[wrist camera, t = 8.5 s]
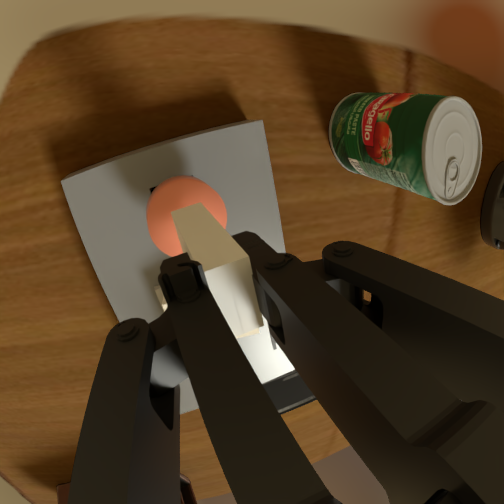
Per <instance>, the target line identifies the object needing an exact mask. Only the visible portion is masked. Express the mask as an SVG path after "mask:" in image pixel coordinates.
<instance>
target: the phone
mask: <svg viewBox="0 0 504 504" xmlns="http://www.w3.org/2000/svg"><path fill="white" fill-rule="evenodd" d="M262 385H263V387H264V388H265V390H266V392H267V394H268V395H269V397H270V399H271V400H272V402H273V404H274V405H275V407H276V409H277V410H278V412H279V414H280V415H281V414H284V413H286V412H289V411H291V410H294V409H296V408H298V407H301V406H303V405H305V404H308V403H310V402H312V401H315V400H317V399H316V397H315V396H314V395H313V393H312V392H311V390H310V389H309V388H308V386H307V385H306V384H305V382H304V381H303V379H302V378H301V377H300V375H299V374H298V372H297V371H296V370H292V371H290V372H288V373H286V374H284V375H281V376H279V377H277V378H274V379H272V380H270V381H267V382H265V383H263V384H262Z"/></svg>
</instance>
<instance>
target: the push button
mask: <svg viewBox="0 0 504 504" xmlns="http://www.w3.org/2000/svg"><path fill="white" fill-rule="evenodd" d="M200 202H201V203H202V204H203V206H204V207H205V208H206V209H207V210H208V211H209V212H210V213H211V214H212V216H213V217H214V218H215V219H216V220H217V221H218V222H219V223H220V224H221V226H222V227H223V228H224V229H226V224H227V212H226V207H225V204H224V202H223V200H222V198H221V197H220V195H219V194H218V193H217V192H216V191H215V190H214V189H212V188H211V187H210V186H209V185H208V184H206V183H205V182H204V181H202V180H200V179H198V178H196V177H193V176H187V175H181V176H175V177H172V178H169V179H167V180H165V181H163V182H162V183H161V184H159V185H158V186H157V187H156V188H155V189H154V191H153V192H152V194H151V195H150V197H149V200H148V203H147V207H146V219H147V225H148V230H149V234H150V236H151V239H152V241H153V242H154V244H155V245H156V246H157V247H158V248H159V249H160V250H161V251H162V252H164V253H165V254H167V255H169V256H171V257H174V256H177V255H179V254H182V253H183V251H182V247H181V244H180V241H179V238H178V235H177V231H176V228H175V225H174V221H173V218H172V215H171V212H172V211H175V210H178V209H181V208H184V207H187V206H190V205H193V204H196V203H200Z"/></svg>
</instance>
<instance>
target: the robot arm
mask: <svg viewBox="0 0 504 504" xmlns="http://www.w3.org/2000/svg"><path fill="white" fill-rule="evenodd" d="M171 215H172V218H173V221H174V225H175V228H176V231H177V235H178V238H179V241H180V244H181V247H182V251H183V253H182V254H179V255H177V256H174V257H171V258H168V259H165V260H163V262H162V264H161V266H160V271H161V273H160V274H159V275H158V282H159V285H160V287H161V290H162V292H163V295H164V297H165V300H166V302H167V309H166V310H165V312H164V313H163V314H162V315H161V316H160V317H158V318H157V319H155V320H154V321H152V322H150V323H149V324H148V322H147V321H146V320H145V319H141V318H130V319H127V320H124V321H122V322H120V323H118V324H117V325H115V326H114V327H113V328H112V329H111V330H110V332H109V334H108V336H107V338H106V341H105V344H104V348H103V351H102V354H101V357H100V361H99V364H98V367H97V371H96V374H95V378H94V381H93V385H92V388H91V392H90V396H89V400H88V404H87V408H86V411H85V416H84V420H83V424H82V428H81V433H80V437H79V442H78V446H77V451H76V456H75V461H74V466H73V472H72V477H71V483H70V489H69V496H68V502H67V504H181V497H180V385H179V383H181V382H182V381H184V380H185V379H187V378H188V377H189V380H190V383H191V386H192V389H193V392H194V395H195V398H196V400H197V403H198V406H199V409H200V412H201V415H202V418H203V420H204V423H205V426H206V428H207V431H208V434H209V436H210V439H211V442H212V444H213V447H214V449H215V452H216V455H217V457H218V460H219V462H220V465H221V467H222V469H223V472H224V474H225V477H226V479H227V481H228V484H229V486H230V488H231V491H232V493H233V495H234V497H235V500H236V502H237V504H342V503H341V502H340V501H338V500H337V499H335V498H334V497H333V496H332V495H331V494H330V492H329V491H328V489H327V488H326V487H325V485H324V483H323V482H322V480H321V479H320V477H319V476H318V474H317V473H316V471H315V470H314V468H313V467H312V465H311V464H310V462H309V460H308V459H307V457H306V456H305V454H304V453H303V451H302V449H301V448H300V446H299V445H298V443H297V441H296V440H295V438H294V437H293V435H292V433H291V432H290V430H289V429H288V427H287V425H286V424H285V422H284V420H283V419H282V417H281V415H280V414H279V412H278V410H277V409H276V407H275V405H274V404H273V402H272V400H271V399H270V397H269V395H268V394H267V392H266V390H265V388H264V387H263V385H262V383H261V382H260V380H259V378H258V376H257V375H256V373H255V371H254V369H253V368H252V366H251V364H250V362H249V361H248V359H247V357H246V355H245V354H244V352H243V350H242V348H241V346H240V345H239V343H238V341H237V339H236V337H237V336H239V335H242V334H244V333H247V332H249V331H252V330H254V329H257V328H259V327H262V326H264V322H263V318H262V315H263V316H264V318H265V319H266V320H267V323H268V328H269V333H270V337H271V342H272V346H273V349H274V350H275V349H277V347H276V343H277V344H278V346H279V347H280V349H281V350H282V351H283V353H284V354H285V356H286V357H287V358H288V360H289V361H290V363H291V364H292V365H293V367H294V368H295V370H296V371H297V372H298V374H299V375H300V377H301V378H302V379H303V381H304V382H305V384H306V385H307V386H308V388H309V389H310V390H311V392H312V393H313V395H314V396H315V397H316V399H317V400H318V401H319V403H320V404H321V406H322V407H323V408H324V410H325V411H326V412H327V414H328V415H329V416H330V418H331V419H332V420H333V422H334V423H335V425H336V426H337V427H338V429H339V430H340V431H341V433H342V434H343V435H344V437H345V438H346V439H347V441H348V442H349V443H350V445H351V446H352V447H353V449H354V450H355V451H356V452H357V454H358V455H359V456H360V458H361V459H362V460H363V462H364V463H365V464H366V466H367V467H368V468H369V470H370V471H371V472H372V473H373V475H374V476H375V477H376V479H377V480H378V481H379V482H380V484H381V485H382V486H383V488H384V489H385V490H386V493H387V495H388V498H389V502H390V504H504V301H503V300H501V299H499V298H496V297H494V296H491V295H489V294H487V293H484V292H482V291H480V290H477V289H475V288H472V287H470V286H467V285H465V284H462V283H460V282H458V281H455V280H453V279H450V278H448V277H445V276H443V275H440V274H437V273H435V272H432V271H430V270H427V269H425V268H422V267H419V266H417V265H414V264H412V263H409V262H406V261H404V260H401V259H399V258H396V257H393V256H391V255H388V254H385V253H382V252H380V251H377V250H374V249H372V248H369V247H366V246H363V245H361V244H358V243H355V242H350V241H338V242H333V243H331V244H329V245H327V246H326V247H325V248H323V251H322V259H320V260H315V261H309V262H302V261H301V260H299V259H298V258H297V257H296V256H294V255H292V254H289V253H277V252H276V251H275V250H274V249H273V248H272V247H271V246H269V245H268V244H267V243H266V242H265V241H264V240H263V239H261V237H259V236H258V235H257V234H256V233H253V232H249V231H244V232H241V233H238V234H235V235H232V236H230V234H229V233H228V232H227V231H226V230H225V229H224V228H223V227H222V226H221V224H220V223H219V222H218V221H217V220H216V219H215V218H214V217H213V216H212V214H211V213H210V212H209V211H208V210H207V209H206V208H205V207H204V206H203V204H202V203H201V202H200V203H196V204H193V205H190V206H187V207H184V208H181V209H178V210H175V211H172V212H171ZM481 232H482V237H483V240H484V242H485V243H486V244H488V245H490V246H492V247H494V248H496V249H502V250H504V161H503V162H502V163H500V164H499V165H498V166H497V168H496V169H495V171H494V172H493V174H492V176H491V179H490V181H489V184H488V187H487V190H486V193H485V197H484V202H483V207H482V215H481ZM364 290H365V291H367V292H370V293H371V302H369V301H366V300H364V299H363V298H364ZM461 400H462V401H461Z"/></svg>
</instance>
